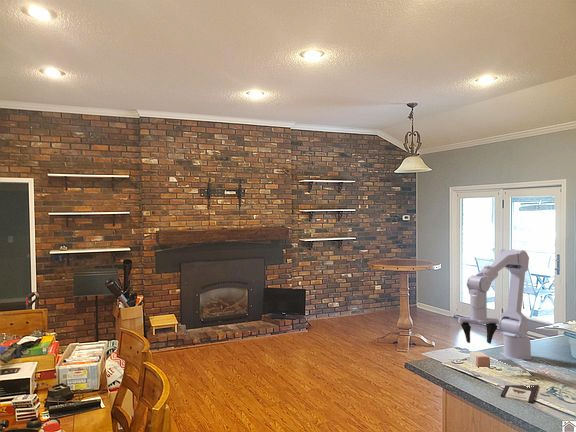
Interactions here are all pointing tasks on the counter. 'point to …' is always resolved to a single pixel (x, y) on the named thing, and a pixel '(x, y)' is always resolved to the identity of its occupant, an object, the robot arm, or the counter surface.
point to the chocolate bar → (520, 392)
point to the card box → (479, 359)
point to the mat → (511, 367)
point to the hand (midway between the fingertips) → (478, 342)
